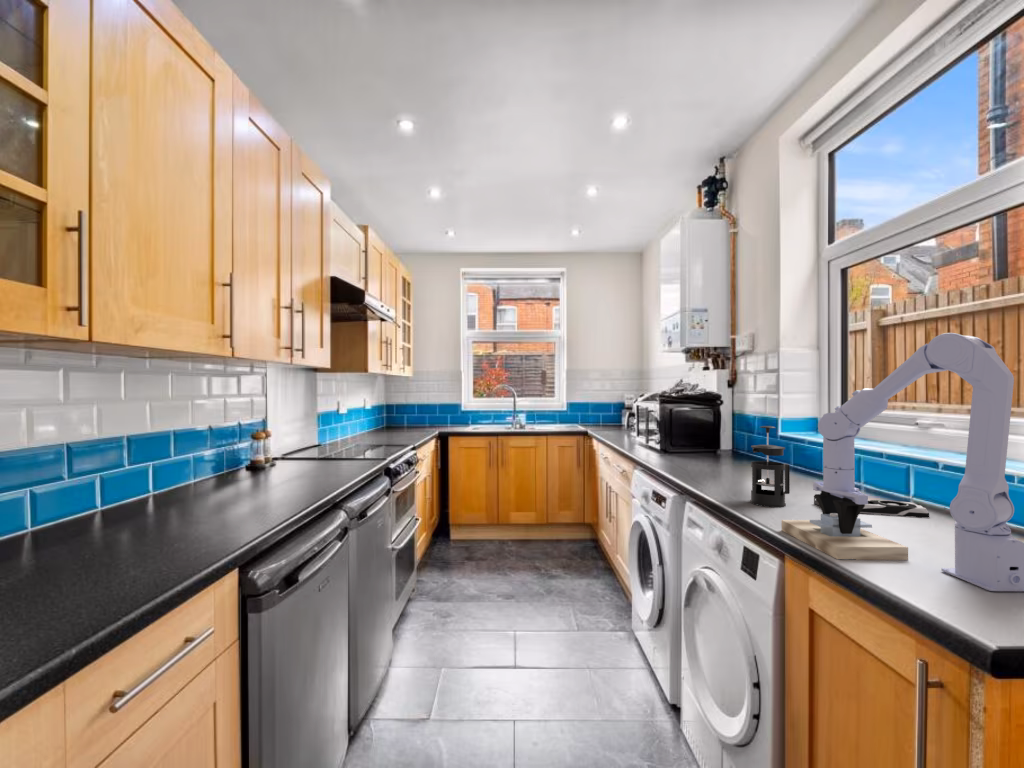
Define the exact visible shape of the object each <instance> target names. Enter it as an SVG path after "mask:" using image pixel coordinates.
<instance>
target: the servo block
mask: <svg viewBox="0 0 1024 768" xmlns="http://www.w3.org/2000/svg"><path fill="white" fill-rule="evenodd" d="M809 520H810V523H812V524H814V525H817V526H819V527H821V533H823V534H826V535H828V536H849V537H860V528H861V529H864V528H866V529H867V528H868V529H869V528H873V525H872V524H870V523H867V522H865V521H862V520H861V518H859V517H857V519H856V522H855V525H854V528H853V531H852V534H842V533H841V532H840V528H839V519H838V514H837V513H830V514H823V513H820V519H809Z"/></svg>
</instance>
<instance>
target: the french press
mask: <svg viewBox="0 0 1024 768" xmlns="http://www.w3.org/2000/svg"><path fill="white" fill-rule="evenodd" d="M759 428H761V429H765V433H766V444H757V445H754V444H753V445H751V446H750V448H752V453H754V454H755V453H761V454H763V455H764V456H766V460H755V461H754V460H753V461H751V462H750V467H751V483H752V484H751V491H750V501H749V502H750V503H751V502H752V503H754V504H753V505H755V504H758V505H757V506H759V505H762V506H761V507H765V506H769V507H768V508H784V506H785V507H786V505H787V503H786V495H790V491H791V489H790V485H791V483H790V478H791V477H790V471H791V470H790V468H791V467H790V464H789V463H785V462H784V463H783V462H778V461H769V457H770V456H771V457H773V456H774V457H778V456H779V457H780V456H784V450H786V447H785V446H778V445H774V444H769V434H770V430H771V429H776V427H775V426H772V425H762V426H759ZM763 470H766V473H767V474H766V478H765V479H763V477H762V473H763V472H762V471H763ZM769 471H774V472H773V473H774V476H773V477H774V480H773V479H770V478H769ZM762 487H770V488H771V487H773V490H772V489H762ZM752 503H751V504H752Z"/></svg>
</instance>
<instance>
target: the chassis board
mask: <svg viewBox="0 0 1024 768" xmlns="http://www.w3.org/2000/svg"><path fill="white" fill-rule="evenodd" d="M810 520H811V519H781V532H783V533H786V535H789V536H792V537H794V538H795V539H797V540H799V541H801V542H803V543H805V544H807V545H809V546H810V547H812V548H815V549H817V550H819V551H821V552H822V553H824V554H826V555H828V556H830V557H831V558H834V559H836V560H838V559H856V560H858V561H859V560H860V561H861V560H862V561H863V560H864V561H866V560H868V561H878V560H880V561H908V560H909V547H908V546H906V545H903V544H902V543H898V542H895V541H893V540H891V539H888V538H885V537H884V536H881V535H879V534H875V533H873V532H870V531H868V530H865V529H864V528H860V537H849V536H828V535H826V534H823V533H821V527H819V526H817V525H814V524H812V523H810Z"/></svg>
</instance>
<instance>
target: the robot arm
mask: <svg viewBox="0 0 1024 768" xmlns="http://www.w3.org/2000/svg"><path fill="white" fill-rule="evenodd" d="M945 371H946V372H947V371H949V372H951V373H955V374H957V376H958V377H960V378H961V379H962V380H964V381H965V382H966V383H968V384H969V385H971V386H972V393H971V404H970V405H971V406H970V417H969V428H968V436H967V437H968V438H967V445H966V446H967V448H966V457H965V469H964V474H963V476H962V479H961V480H960V482H959V484H958V491H957V494H956V496H955V497H953V499H952V500H951V501H950V505H949V513H950V515H951V517H952V519H953V520H954V521H955V522H954V567H942V568H941V571H942V572H944V573H946V574H949V575H951V576H953V577H956V578H958V579H960V580H962V581H965V582H968V583H969V584H972V585H975V586H977V587H979V588H982V589H983V590H986V591H990V592H1024V542H1022V541H1021V540H1019V539H1017V538H1015V537H1014V536H1013V535H1012V529H1011V528H1010V527H1009V525H1008V523H1007V522H1008V521H1010V520H1011V519H1012V518H1013V516H1014V513H1015V506H1014V504H1013V501H1012V500H1011V498H1010V495H1009V489H1010V485H1009V484H1008V482H1007V479H1006V477H1005V476H1006V466H1007V458H1008V457H1007V454H1008V444H1009V437H1010V436H1009V434H1010V425H1011V414H1012V405H1013V404H1012V403H1013V392H1014V386H1015V385H1014V383H1015V379H1014V378H1015V377H1014V374H1013V373H1012V372H1011V370H1010V369H1009V367H1008V366H1007V365H1006V364H1005V362H1004V361H1003V360H1002V358H1001V357H1000V356H999V354H998V353H997V350H996V349H995V346H993V345H991V344H990V343H988V342H986V341H985V340H983V339H981V338H979V337H977V336H973V335H962V334H960V333H955V332H945V333H941V334H939V335H936V336H935V337H933V338H932V339H931V340H930V341H929V342H928V343H925V344H924V345H921V346H920V347H919V348H918V349H916V351H915V352H914V353H912V354H911V355H910V356H909V357H908V358H907V359H906V360H905V361H903V363H901V364H900V365H899V366H898V367H896V369H894V370H893V371H892V372H890V374H889V375H887V376H886V377H885V378H884V379H882V381H880V382H879V383H878V384H877V385H876V386H875V387H874V388H868V387H867V388H862V389H861V390H859V389H857V390H855V391H853V392H852V393H851V395H852V397H850V399H848V400H847V401H846V402H844V403H843V404H842V405H838V406H836V407H835V408H834V411H835V412H827V413H824V414H822V417H821V418H819V420H818V423H817V428H818V432H819V434H820V435H821V436H822V439H823V445H822V446H823V447H822V450H823V451H822V459H823V460H822V465H823V468H822V470H823V472H822V475H823V477H822V478H823V480H822V481H813V482H812V483H813V485H812V486H813V487H812V488H813V491H816V492H820V493H818V494H817V493H815V494H814V496H815V498H816V499H815V500H817V502H818V503H819V505H820V506H819V505H818V506H819V507H820V510H821V514H830V513H837V514H838V519H839V528H840V532H841V533H842V534H852V531H853V528H854V525H855V522H856V519H857V518H859V515H860V514H859V513H860V512H861V510H862V509H863V508H864V507H865V504H868V500H869V495H868V494H865V493H862V492H861V491H860V488H857V487H855V485H856V484H855V483H856V481H855V480H856V478H855V476H856V475H855V471H856V470H855V468H856V467H855V466H856V465H855V461H856V460H855V459H856V458H855V454H856V453H855V450H856V449H855V438H856V437H857V436H858V435H859V434H860V431H861V428H862V427H864V426H865V425H866V424H869V422H871V421H872V420H873V419H875V418H877V417H878V416H879V415H881V414H882V413H883V412H884V411H886V410H887V409H888V406H889V399H891V398H892V397H894V396H896V395H897V394H898V393H900V392H902V391H903V390H904V389H906V388H907V387H908V386H910V385H911V384H913V383H914V382H916V381H918V380H919V379H920V378H922V377H923V376H925V375H928V374H934V373H940V372H945Z"/></svg>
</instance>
